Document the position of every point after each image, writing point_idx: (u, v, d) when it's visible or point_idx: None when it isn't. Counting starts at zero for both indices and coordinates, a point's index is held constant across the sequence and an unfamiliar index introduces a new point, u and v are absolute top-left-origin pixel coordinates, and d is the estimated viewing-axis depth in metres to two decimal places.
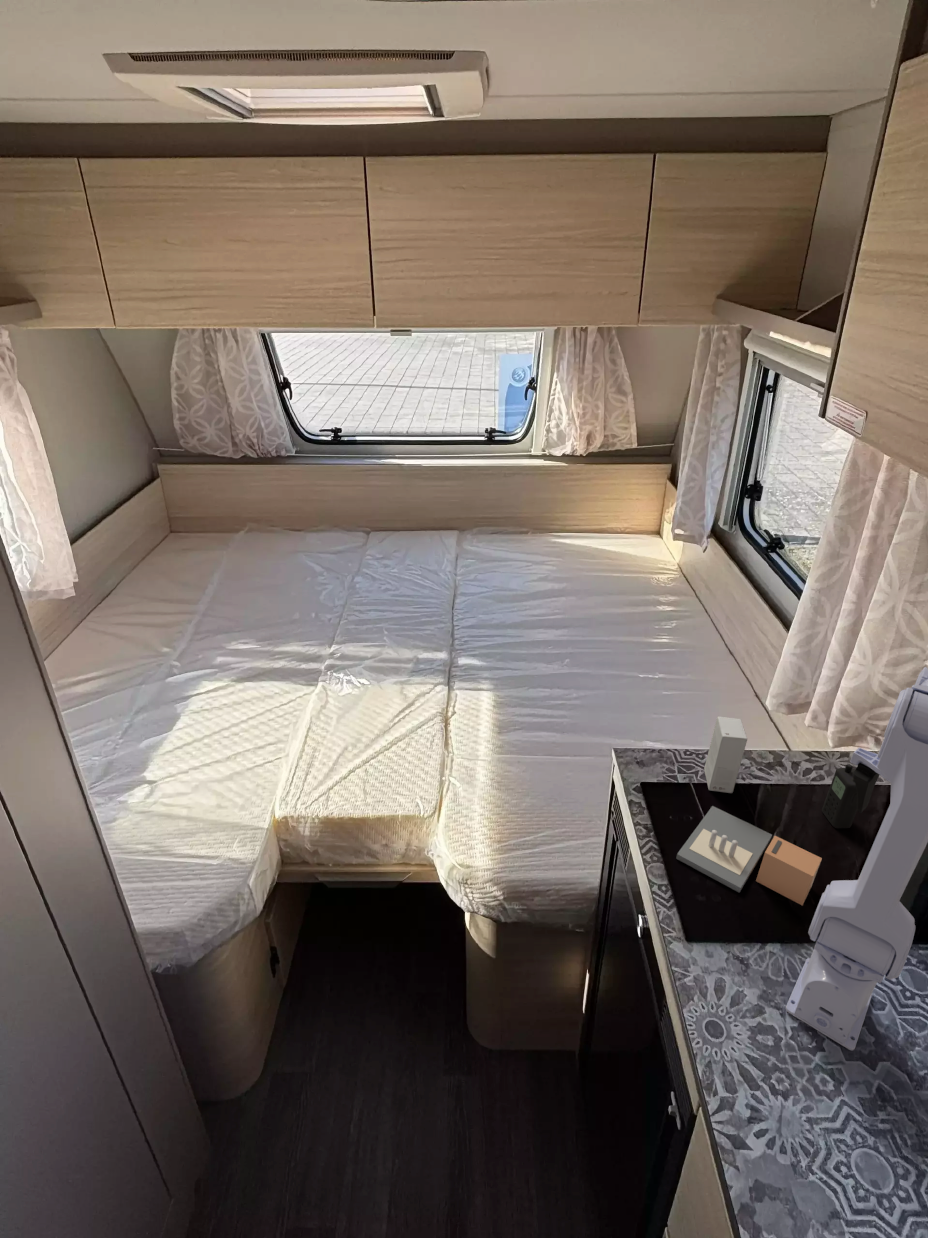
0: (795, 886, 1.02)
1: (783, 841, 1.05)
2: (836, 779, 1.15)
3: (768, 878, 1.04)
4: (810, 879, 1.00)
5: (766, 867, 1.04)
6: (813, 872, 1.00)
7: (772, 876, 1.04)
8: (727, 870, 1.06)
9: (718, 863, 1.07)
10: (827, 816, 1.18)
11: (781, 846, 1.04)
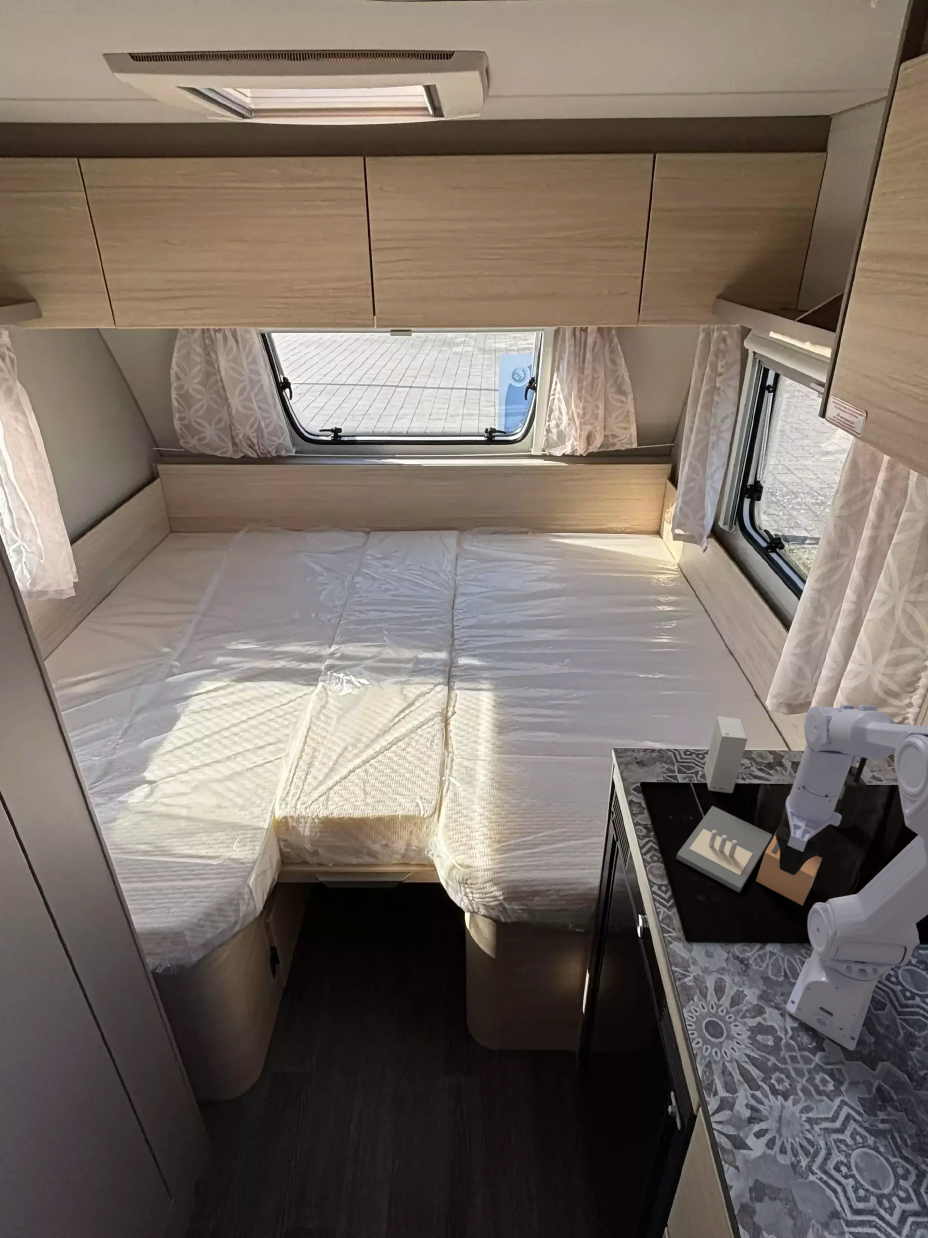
0: (795, 886, 1.02)
1: None
2: None
3: (768, 878, 1.04)
4: (810, 879, 1.00)
5: (766, 867, 1.04)
6: (813, 872, 1.00)
7: (772, 876, 1.04)
8: (727, 870, 1.06)
9: (718, 863, 1.07)
10: None
11: None
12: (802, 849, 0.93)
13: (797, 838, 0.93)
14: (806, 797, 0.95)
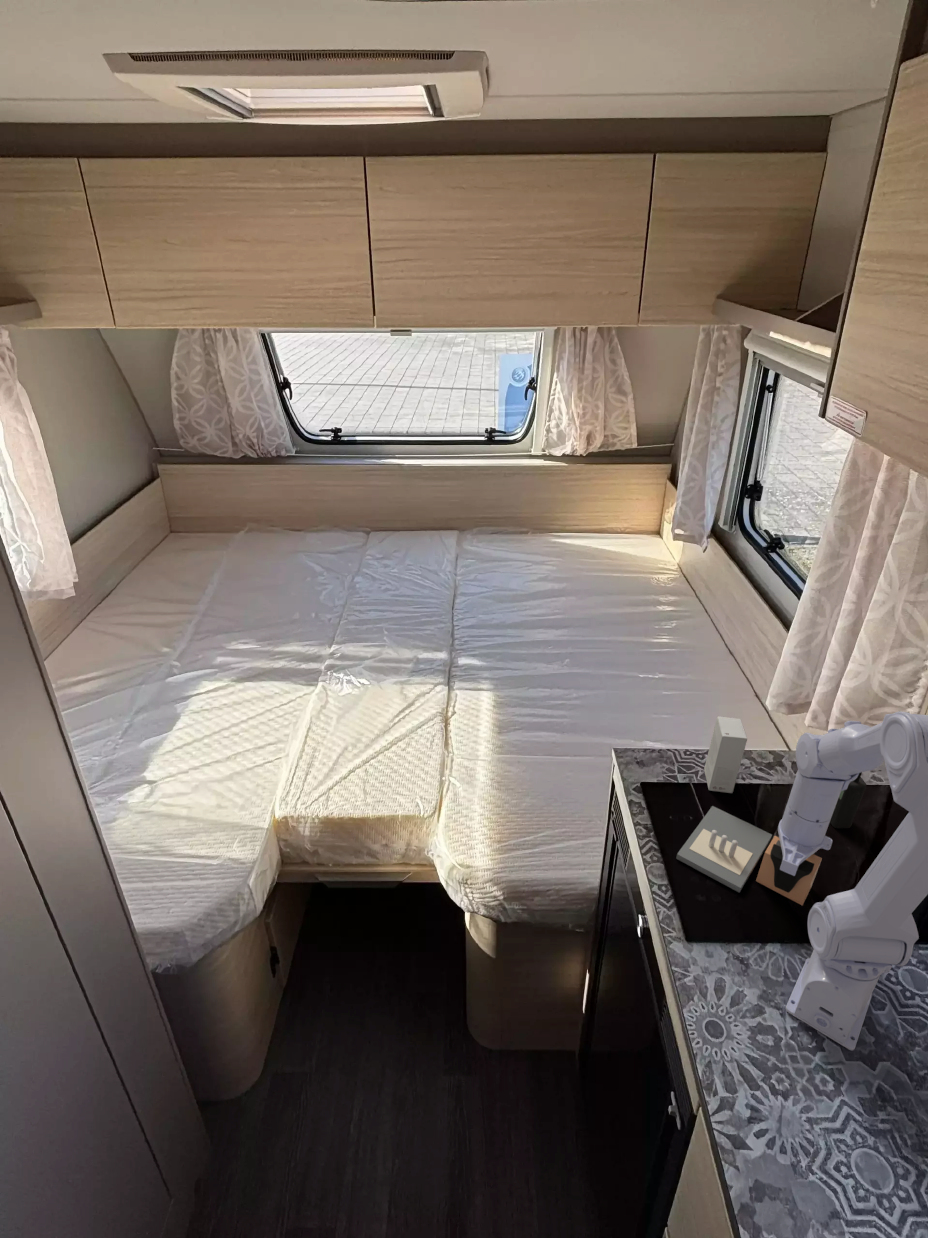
0: (795, 886, 1.02)
1: None
2: None
3: (768, 878, 1.04)
4: (810, 879, 1.00)
5: (766, 867, 1.04)
6: (813, 872, 1.00)
7: (772, 876, 1.04)
8: (727, 870, 1.06)
9: (718, 863, 1.07)
10: None
11: None
12: (794, 873, 0.95)
13: (789, 863, 0.95)
14: (798, 822, 0.97)
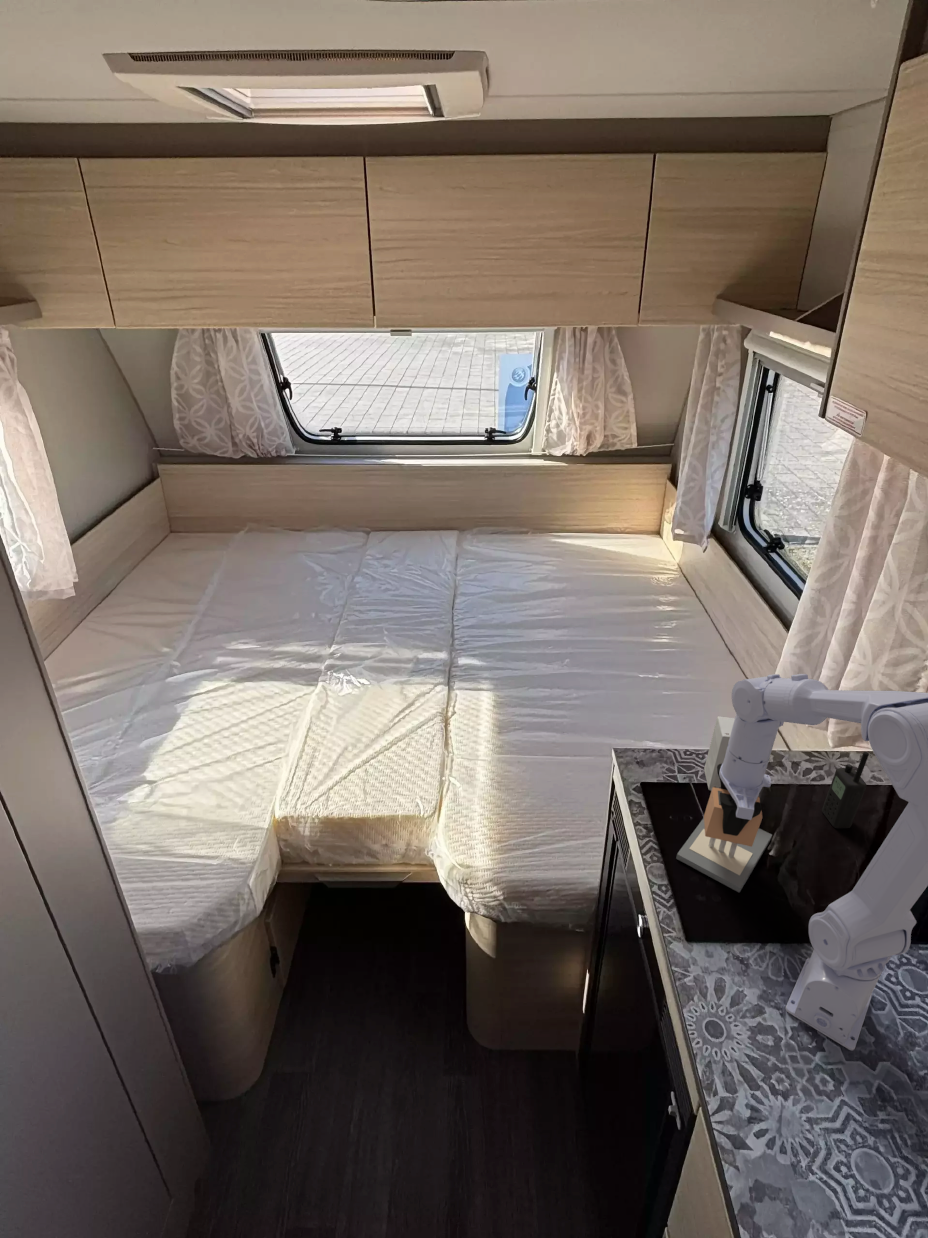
0: (745, 830, 1.04)
1: (722, 790, 1.07)
2: (836, 779, 1.15)
3: (718, 830, 1.05)
4: (759, 820, 1.02)
5: (716, 820, 1.04)
6: (760, 813, 1.03)
7: (721, 827, 1.05)
8: (727, 870, 1.06)
9: (718, 863, 1.07)
10: (827, 816, 1.18)
11: None
12: (750, 818, 0.97)
13: (745, 808, 0.96)
14: (743, 767, 0.98)
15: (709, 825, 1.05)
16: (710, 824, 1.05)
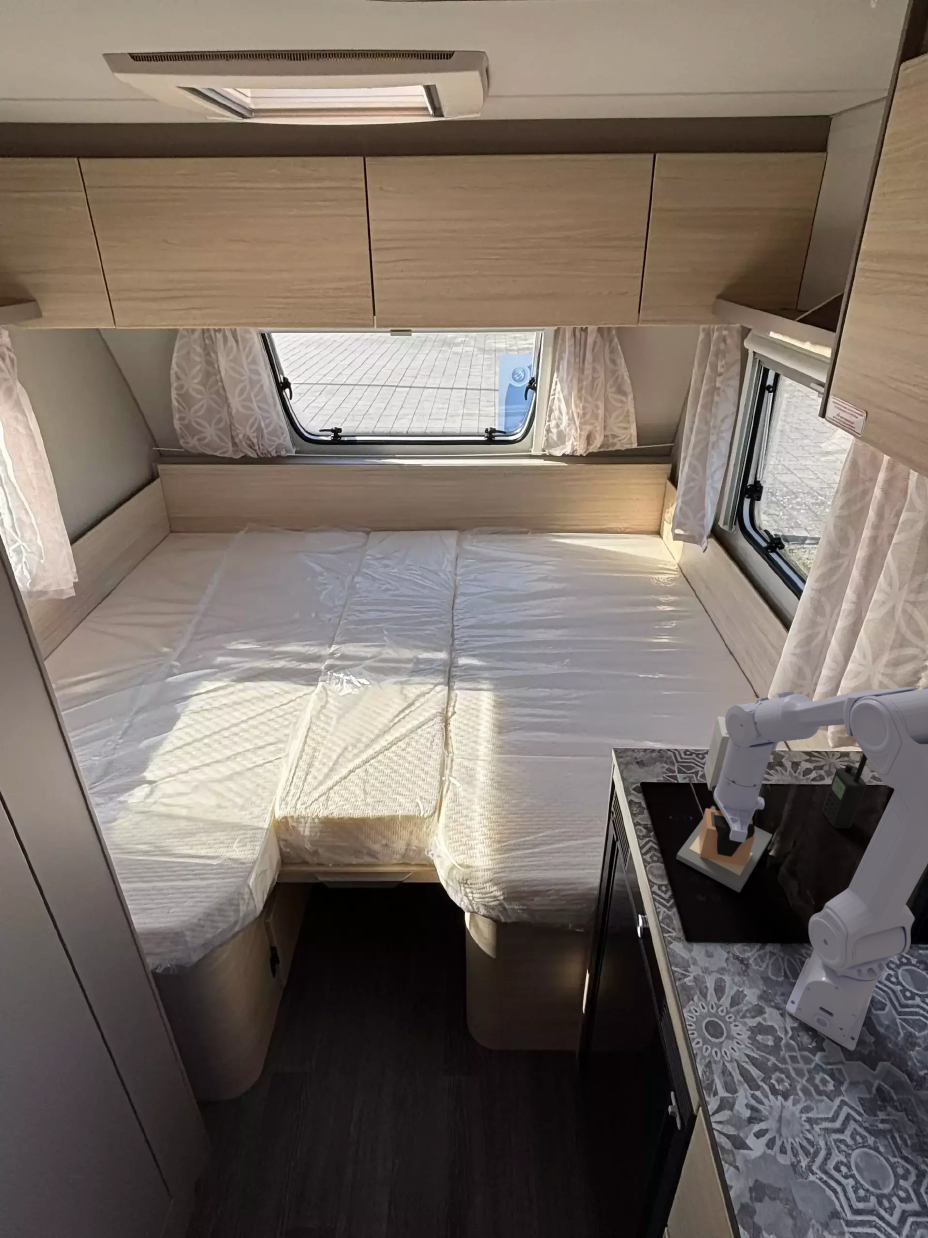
0: (738, 851, 1.06)
1: (715, 811, 1.09)
2: (836, 779, 1.15)
3: (712, 851, 1.07)
4: (752, 840, 1.04)
5: (709, 841, 1.06)
6: None
7: (715, 848, 1.07)
8: (727, 870, 1.06)
9: (718, 863, 1.07)
10: (827, 816, 1.18)
11: None
12: (744, 840, 0.99)
13: (738, 831, 0.98)
14: (737, 790, 1.00)
15: (703, 846, 1.07)
16: (704, 845, 1.07)
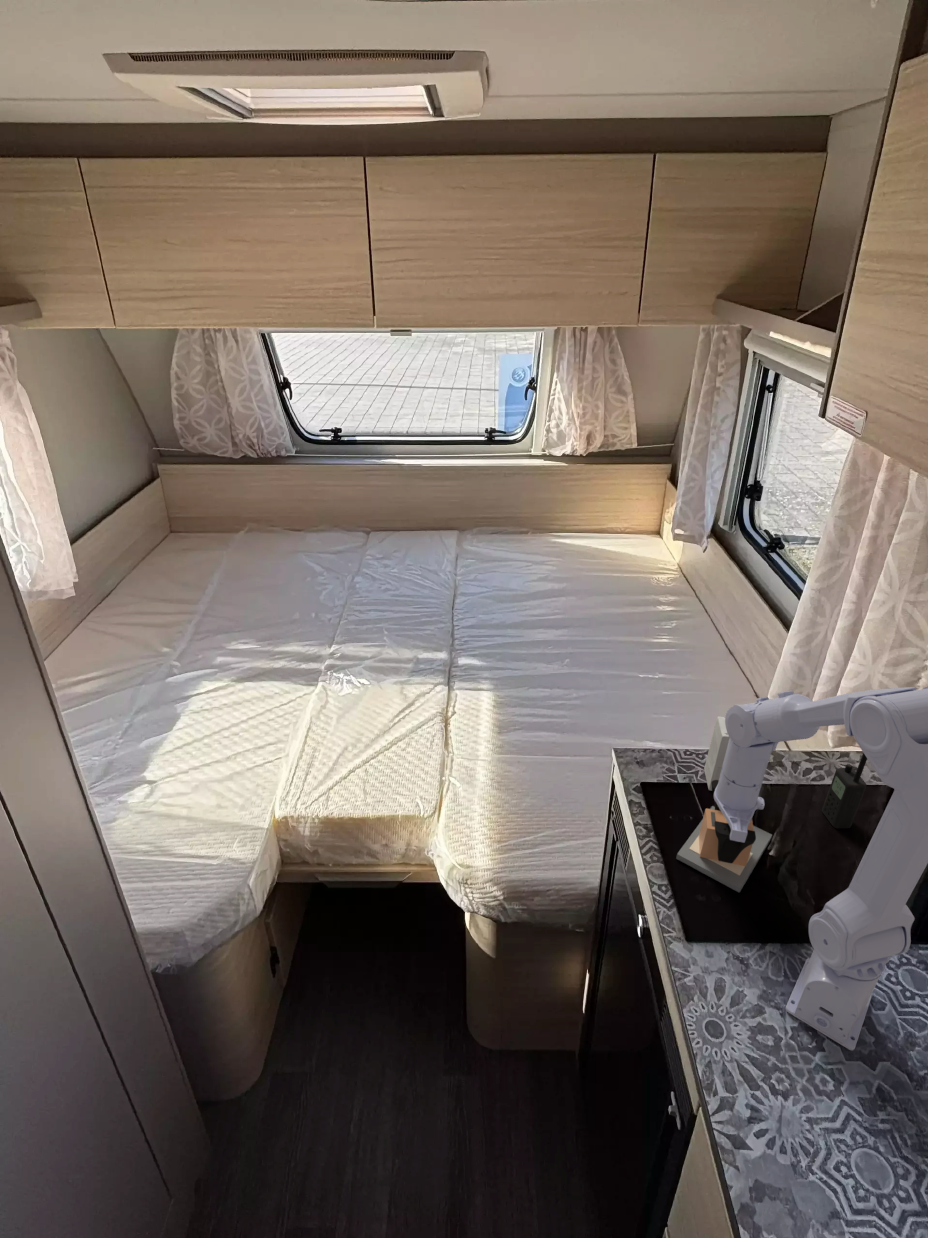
0: None
1: (715, 811, 1.09)
2: (836, 779, 1.15)
3: (712, 851, 1.07)
4: None
5: (709, 841, 1.06)
6: None
7: (715, 848, 1.07)
8: (727, 870, 1.06)
9: (718, 863, 1.07)
10: (827, 816, 1.18)
11: (716, 817, 1.07)
12: (744, 840, 0.99)
13: (738, 831, 0.98)
14: (737, 790, 1.00)
15: (703, 846, 1.07)
16: (704, 845, 1.07)
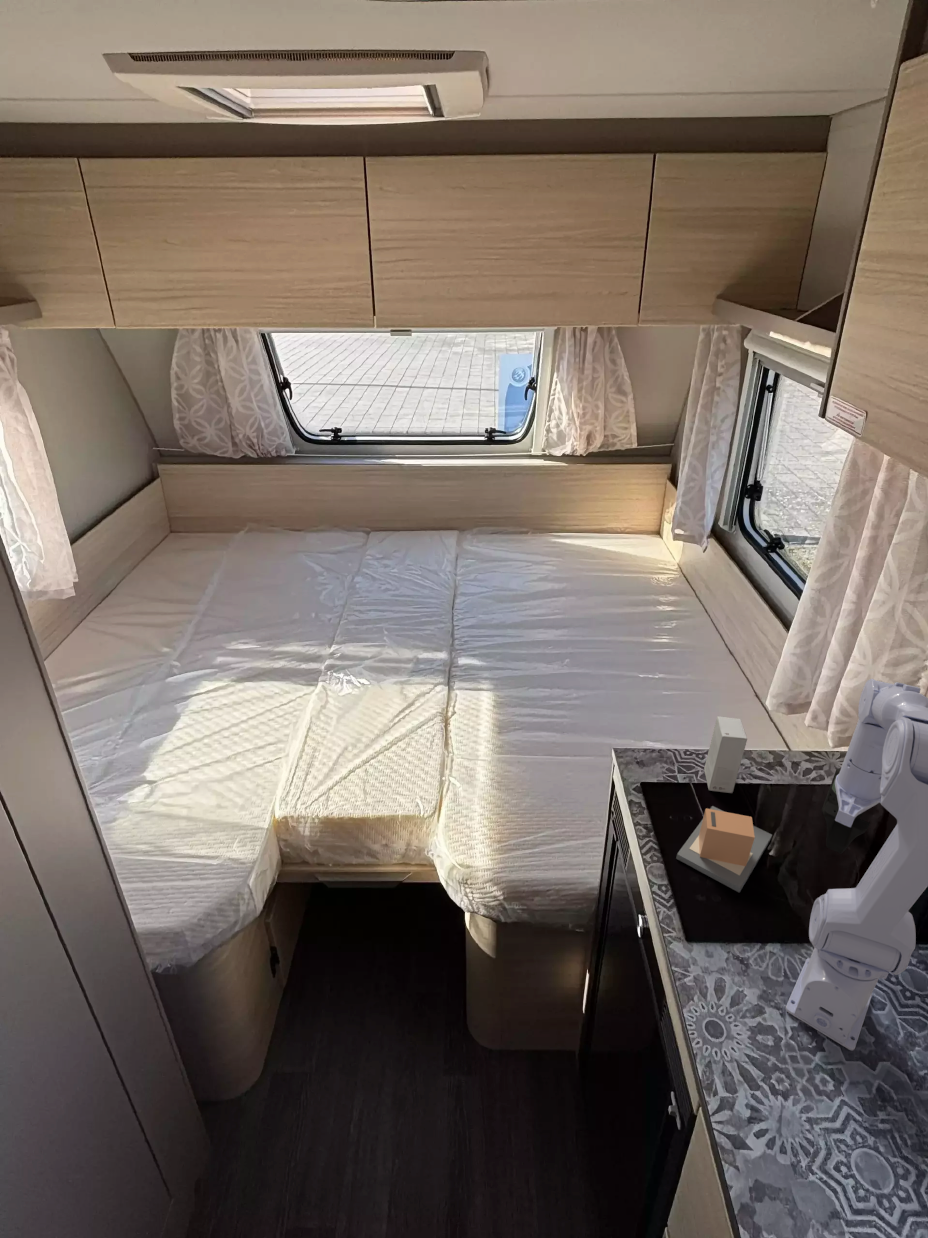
0: (738, 851, 1.06)
1: (715, 811, 1.09)
2: None
3: (712, 851, 1.07)
4: (752, 840, 1.04)
5: (709, 841, 1.06)
6: (752, 833, 1.05)
7: (715, 848, 1.07)
8: (727, 870, 1.06)
9: (718, 863, 1.07)
10: None
11: (716, 817, 1.07)
12: (850, 825, 0.93)
13: (845, 813, 0.93)
14: (856, 774, 0.95)
15: (703, 846, 1.07)
16: (704, 845, 1.07)
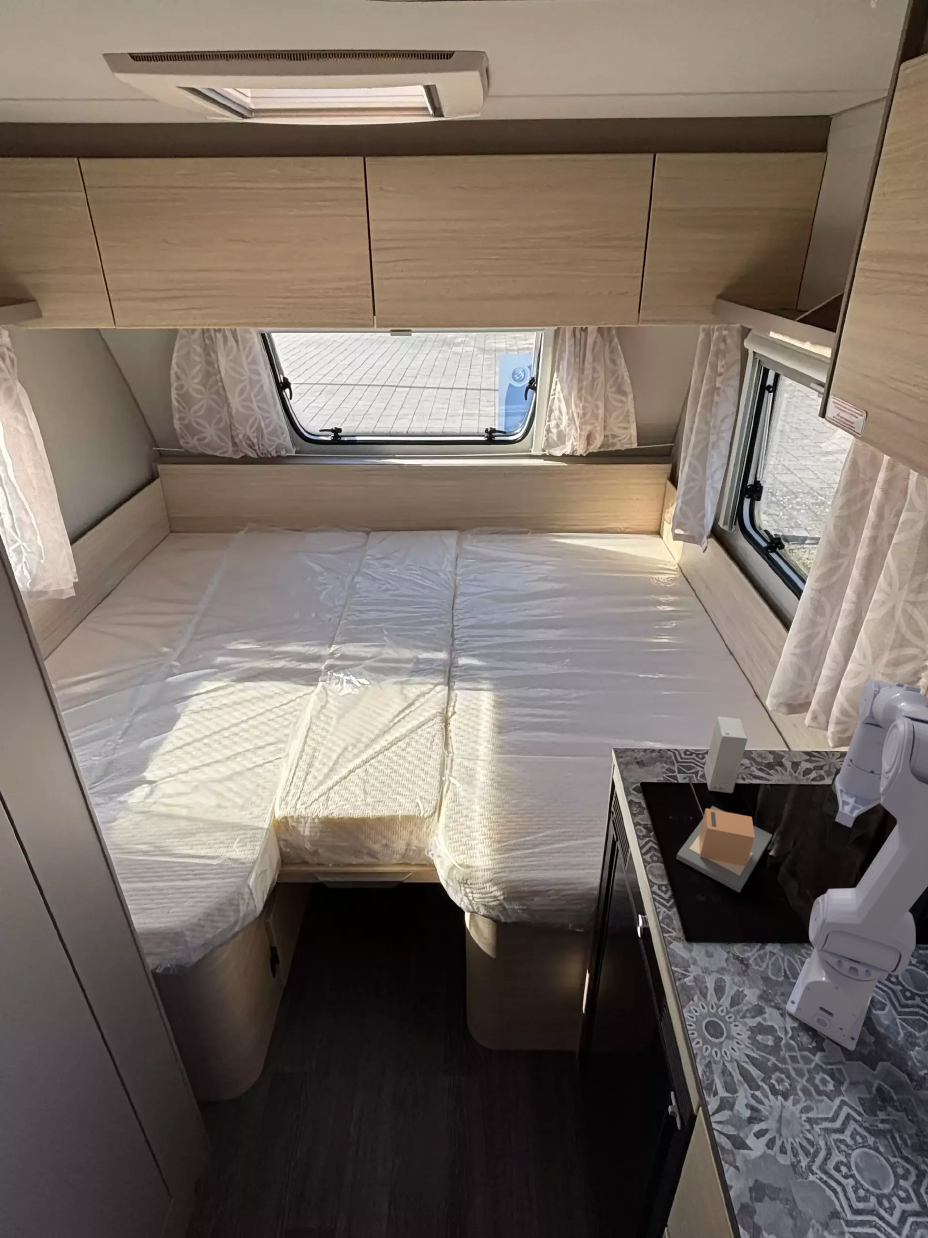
0: (738, 851, 1.06)
1: (715, 811, 1.09)
2: None
3: (712, 851, 1.07)
4: (752, 840, 1.04)
5: (709, 841, 1.06)
6: (752, 833, 1.05)
7: (715, 848, 1.07)
8: (727, 870, 1.06)
9: (718, 863, 1.07)
10: None
11: (716, 817, 1.07)
12: (850, 825, 0.93)
13: (845, 813, 0.93)
14: (857, 774, 0.94)
15: (703, 846, 1.07)
16: (704, 845, 1.07)
